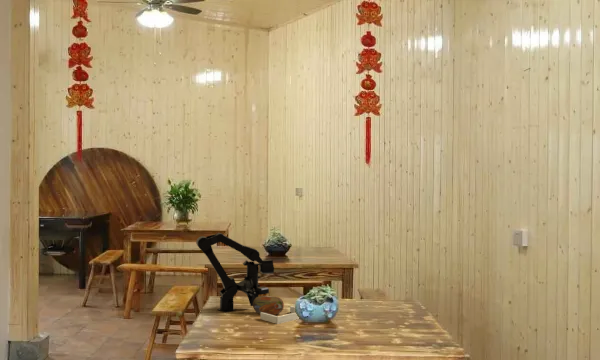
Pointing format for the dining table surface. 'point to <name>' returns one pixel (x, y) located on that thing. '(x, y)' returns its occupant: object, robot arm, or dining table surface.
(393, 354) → the dining table surface
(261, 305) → the tin
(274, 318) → the shelf slot
